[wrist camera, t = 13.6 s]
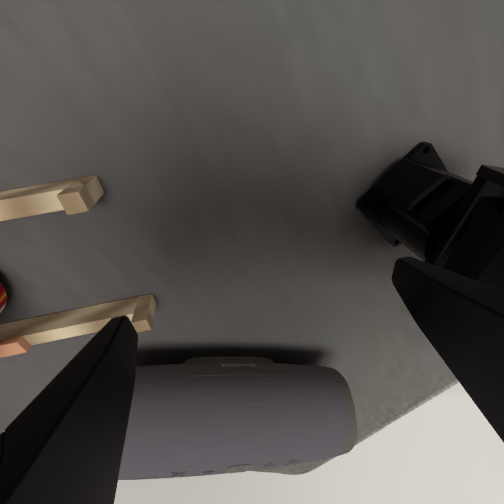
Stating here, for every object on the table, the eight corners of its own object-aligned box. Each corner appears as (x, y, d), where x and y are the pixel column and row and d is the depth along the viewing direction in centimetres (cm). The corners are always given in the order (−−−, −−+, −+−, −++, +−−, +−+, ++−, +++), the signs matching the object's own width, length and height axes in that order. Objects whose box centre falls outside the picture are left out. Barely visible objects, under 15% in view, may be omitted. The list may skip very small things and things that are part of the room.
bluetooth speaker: (125, 389, 30) (95, 506, 22) (123, 335, 25) (85, 459, 17) (304, 385, 36) (334, 476, 28) (330, 340, 31) (376, 434, 23)
